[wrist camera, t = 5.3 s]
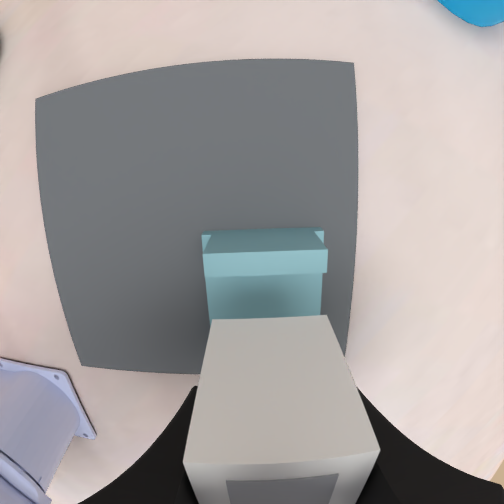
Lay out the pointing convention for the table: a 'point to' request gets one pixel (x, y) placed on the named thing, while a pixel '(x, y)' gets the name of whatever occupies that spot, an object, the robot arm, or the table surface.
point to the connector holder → (264, 272)
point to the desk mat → (189, 194)
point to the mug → (477, 11)
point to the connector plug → (277, 416)
